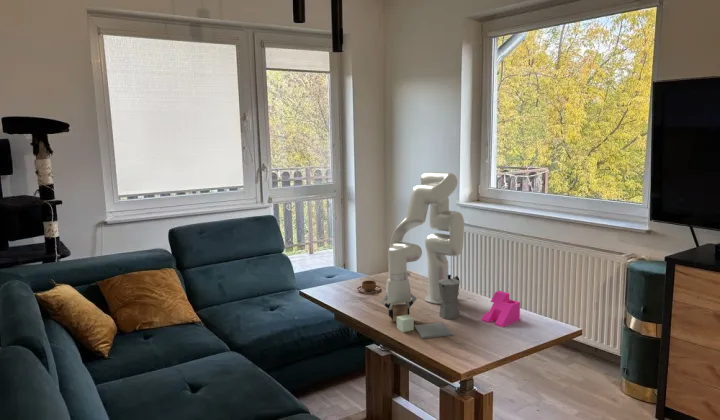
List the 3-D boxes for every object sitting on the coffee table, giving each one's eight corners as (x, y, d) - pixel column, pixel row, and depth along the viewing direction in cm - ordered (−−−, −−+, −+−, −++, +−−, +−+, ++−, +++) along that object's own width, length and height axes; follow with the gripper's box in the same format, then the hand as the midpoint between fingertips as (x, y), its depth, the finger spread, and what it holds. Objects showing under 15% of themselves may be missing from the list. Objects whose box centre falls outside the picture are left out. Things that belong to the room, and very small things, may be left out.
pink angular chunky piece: (499, 313, 224) (499, 290, 223) (519, 320, 216) (520, 296, 215) (481, 320, 217) (481, 297, 215) (502, 327, 209) (502, 302, 207)
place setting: (356, 286, 271) (356, 275, 270) (395, 285, 272) (394, 274, 271) (358, 297, 254) (357, 285, 253) (399, 295, 255) (398, 283, 254)
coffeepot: (452, 322, 216) (452, 280, 213) (432, 318, 222) (431, 277, 219) (468, 311, 228) (468, 271, 226) (448, 307, 234) (448, 268, 231)
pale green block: (407, 326, 214) (407, 314, 213) (413, 330, 209) (413, 318, 209) (396, 328, 212) (396, 316, 211) (402, 332, 207) (402, 320, 206)
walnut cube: (404, 315, 225) (403, 302, 224) (407, 320, 219) (407, 306, 218) (390, 316, 224) (390, 303, 223) (393, 322, 218) (393, 308, 217)
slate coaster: (442, 324, 214) (442, 322, 214) (452, 335, 202) (452, 333, 202) (414, 327, 212) (414, 325, 212) (422, 338, 200) (422, 336, 200)
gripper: (415, 271, 223) (416, 312, 226) (375, 275, 221) (377, 316, 224) (420, 276, 216) (421, 318, 219) (379, 280, 213) (381, 322, 216)
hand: (399, 316), depth 221 cm, fingers closed on walnut cube, 6 cm apart
